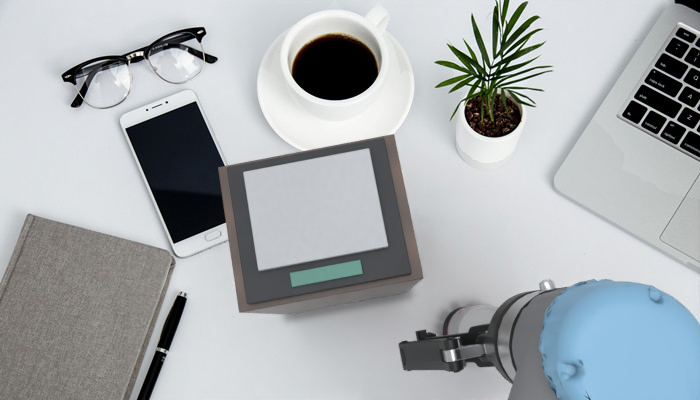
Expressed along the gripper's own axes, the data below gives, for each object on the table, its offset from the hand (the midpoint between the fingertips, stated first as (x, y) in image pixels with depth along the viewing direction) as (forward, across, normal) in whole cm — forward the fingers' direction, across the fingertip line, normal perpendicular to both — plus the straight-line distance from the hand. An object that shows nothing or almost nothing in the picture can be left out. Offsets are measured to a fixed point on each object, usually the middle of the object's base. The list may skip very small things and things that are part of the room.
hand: (493, 333), depth 64 cm
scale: (-13, +15, -13) cm, 24 cm away
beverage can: (+19, 0, 0) cm, 19 cm away
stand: (+19, +15, -13) cm, 27 cm away
